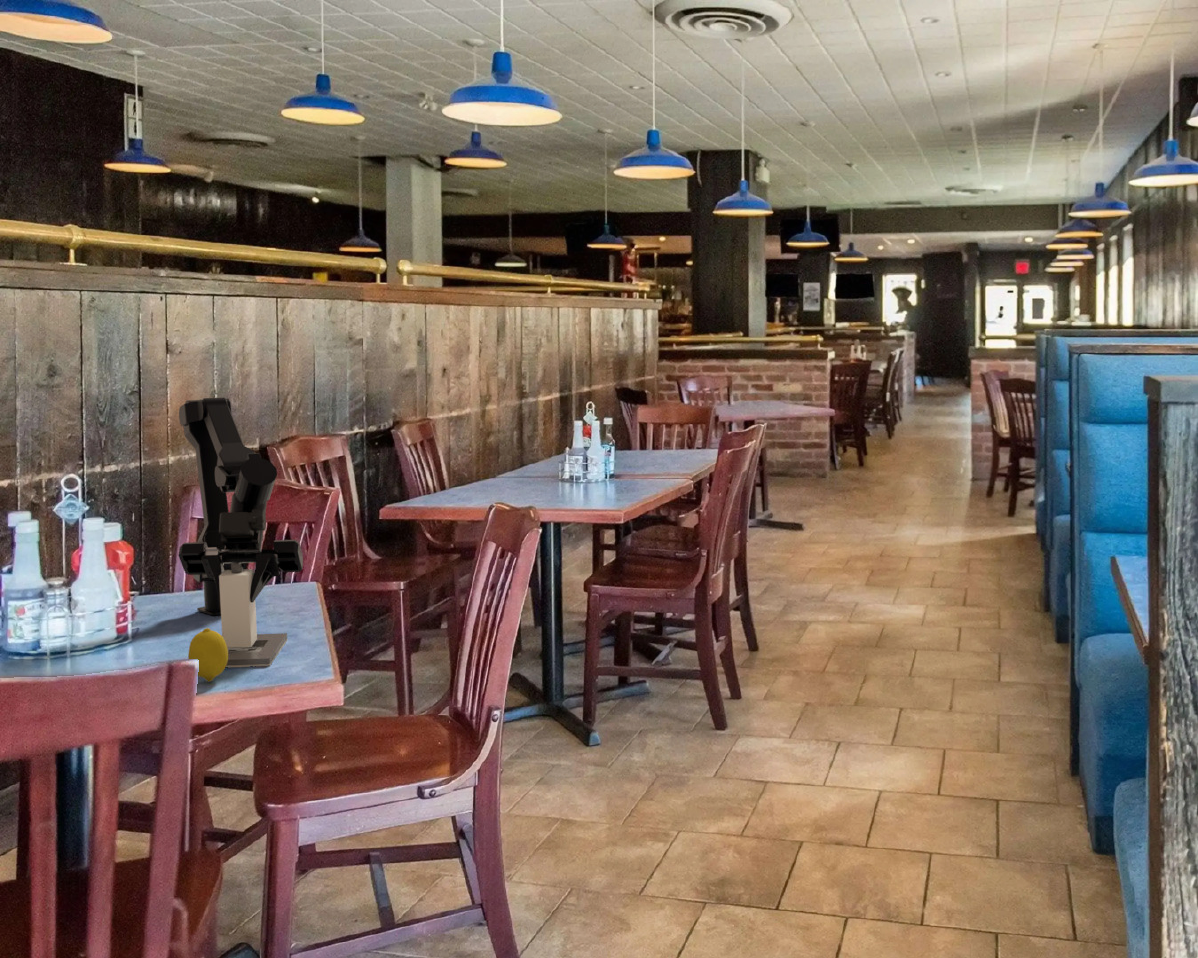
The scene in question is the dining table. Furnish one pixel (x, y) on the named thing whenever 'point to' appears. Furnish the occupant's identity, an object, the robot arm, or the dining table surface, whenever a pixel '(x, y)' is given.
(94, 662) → the dining table surface
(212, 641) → the lemon
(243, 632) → the beige carton with cap
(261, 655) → the socket plate
